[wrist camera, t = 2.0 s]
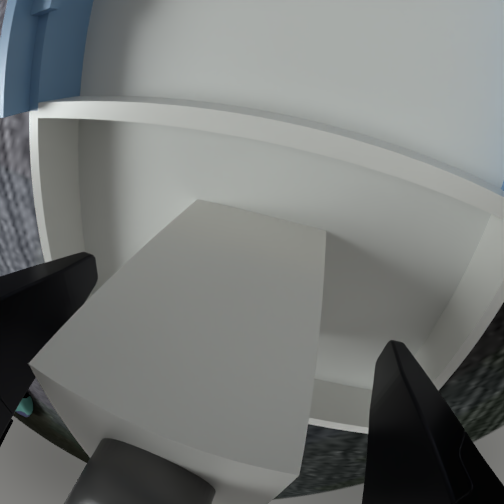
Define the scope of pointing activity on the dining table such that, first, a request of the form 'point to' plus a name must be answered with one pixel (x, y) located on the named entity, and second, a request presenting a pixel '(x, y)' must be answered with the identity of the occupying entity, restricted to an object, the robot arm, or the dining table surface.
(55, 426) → the dining table surface
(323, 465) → the dining table surface
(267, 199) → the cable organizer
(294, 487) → the dining table surface
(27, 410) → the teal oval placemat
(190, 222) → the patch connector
